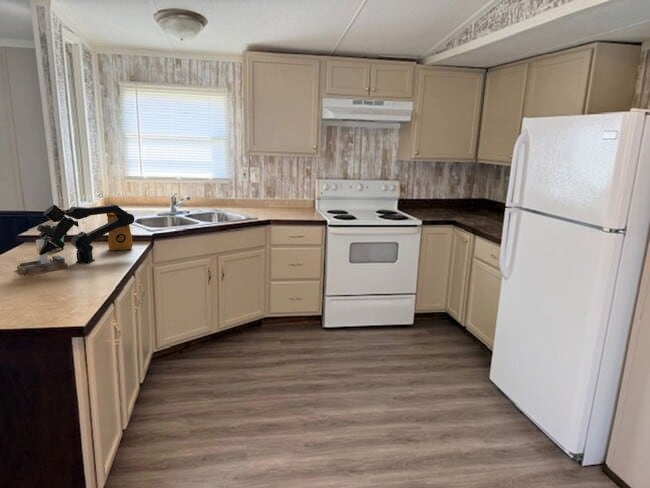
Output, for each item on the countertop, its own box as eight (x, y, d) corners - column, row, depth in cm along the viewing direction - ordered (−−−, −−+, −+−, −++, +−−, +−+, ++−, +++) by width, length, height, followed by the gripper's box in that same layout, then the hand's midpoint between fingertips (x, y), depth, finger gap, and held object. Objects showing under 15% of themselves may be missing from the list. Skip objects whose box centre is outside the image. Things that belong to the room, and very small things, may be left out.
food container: (69, 250, 245) (67, 233, 243) (57, 252, 241) (55, 234, 238) (62, 246, 253) (60, 229, 251) (50, 248, 249) (48, 230, 247)
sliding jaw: (45, 262, 214) (42, 238, 211) (50, 265, 209) (48, 240, 206) (36, 263, 211) (33, 239, 208) (41, 266, 206) (38, 242, 204)
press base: (59, 262, 221) (58, 254, 220) (68, 267, 213) (67, 259, 212) (17, 269, 208) (16, 260, 207) (24, 275, 200) (23, 265, 199)
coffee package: (133, 250, 249) (130, 212, 244) (109, 252, 244) (105, 213, 239) (132, 246, 258) (129, 209, 253) (108, 248, 252) (105, 210, 247)
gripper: (41, 215, 214) (17, 240, 209) (54, 220, 202) (29, 247, 196) (61, 229, 222) (38, 253, 216) (74, 235, 209) (51, 261, 204)
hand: (39, 253), depth 208 cm, fingers closed on sliding jaw, 3 cm apart
